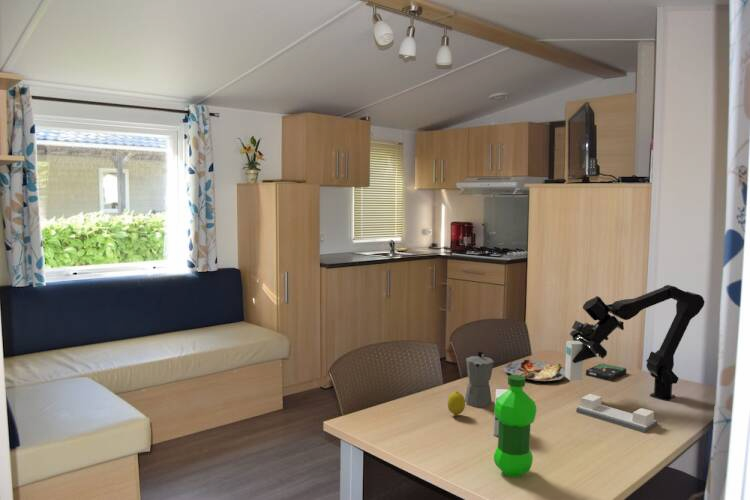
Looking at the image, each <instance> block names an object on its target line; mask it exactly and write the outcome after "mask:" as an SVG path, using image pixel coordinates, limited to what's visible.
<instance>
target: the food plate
mask: <svg viewBox="0 0 750 500" xmlns="http://www.w3.org/2000/svg"><path fill="white" fill-rule="evenodd" d="M503 370H504V372H505V373H508V374H510V375H520V376H523V377H525V380H530V381H535V382H542V383H546V382H550V381H559V380H562V379H563V378H566V377H565V367H562V365H561V364H560V363H550V362H546V361H538V360H531V359H524V360H521V361H512V362H510V363H508V364H507V365H506V366H504V367H503Z"/></svg>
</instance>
